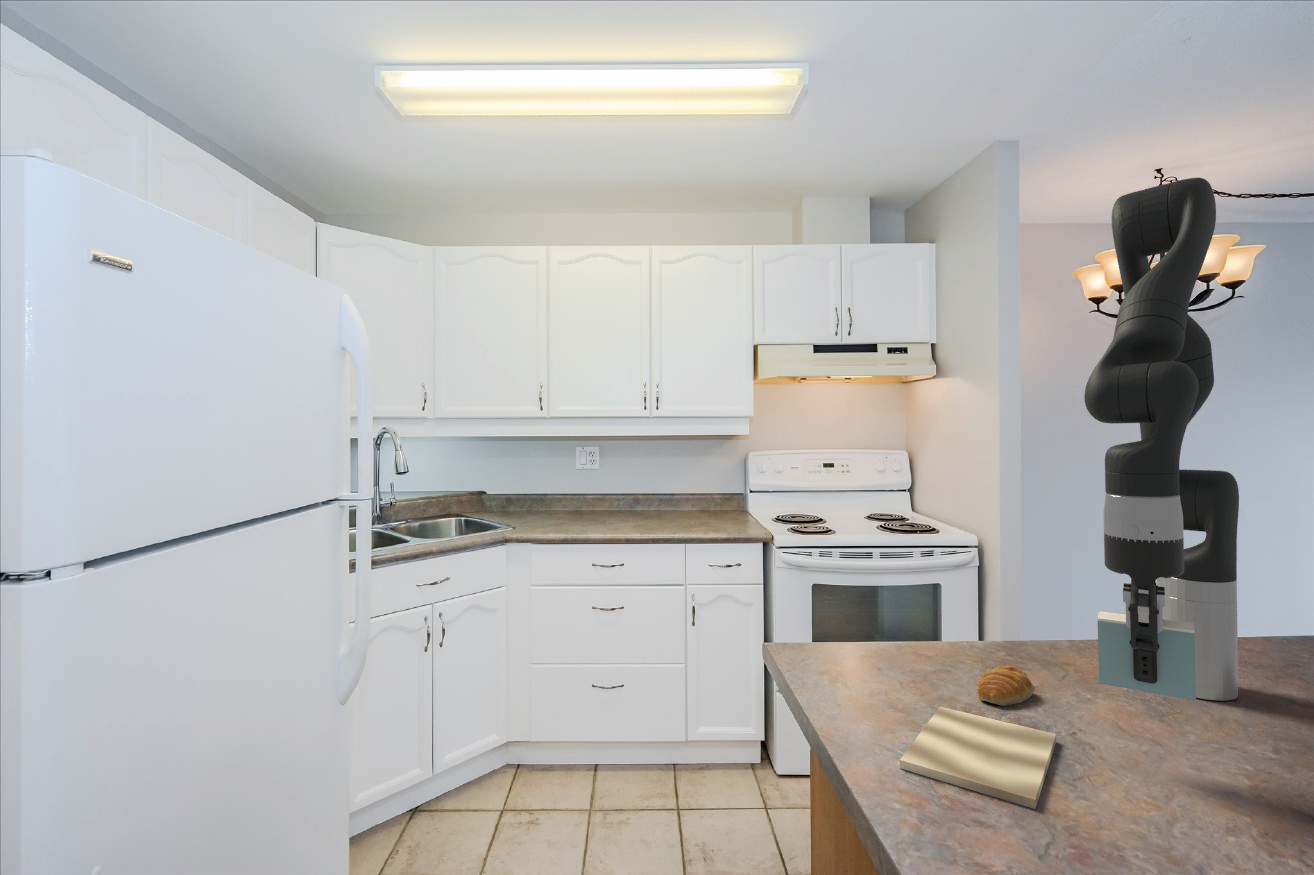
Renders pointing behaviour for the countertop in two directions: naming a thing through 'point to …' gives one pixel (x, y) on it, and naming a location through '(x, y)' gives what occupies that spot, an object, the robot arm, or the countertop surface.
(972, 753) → the board
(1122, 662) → the slab
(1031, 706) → the countertop surface
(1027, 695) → the pastry
